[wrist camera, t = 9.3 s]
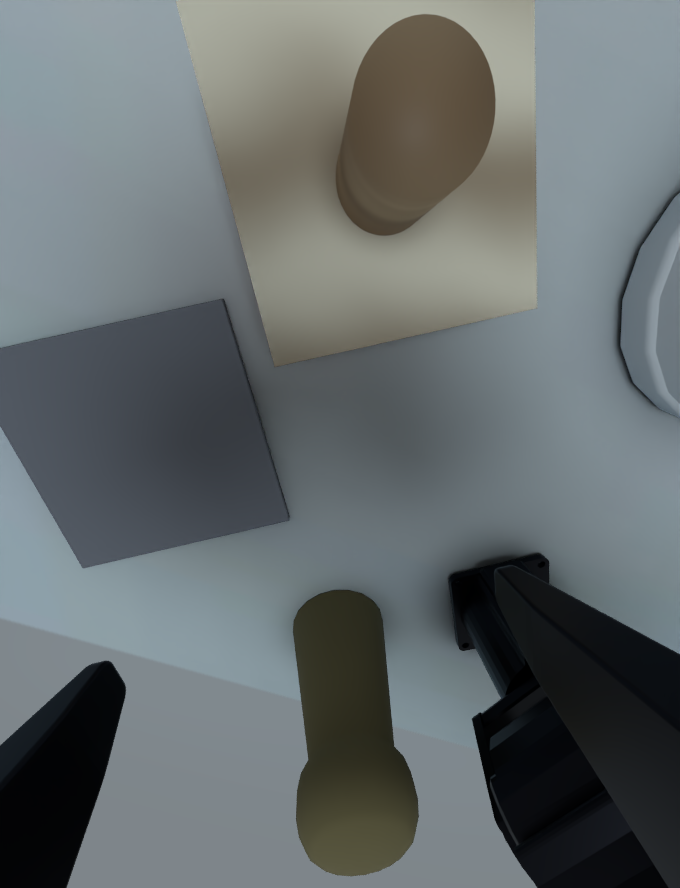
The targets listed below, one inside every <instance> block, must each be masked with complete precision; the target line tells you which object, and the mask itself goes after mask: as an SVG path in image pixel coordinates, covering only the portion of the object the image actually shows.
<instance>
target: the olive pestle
mask: <svg viewBox="0 0 680 888" xmlns="http://www.w3.org/2000/svg"><path fill="white" fill-rule="evenodd" d="M293 635H294V643H295V651H296V660H297V668H298V676H299V685H300V693H301V701H302V710H303V718H304V726H305V735H306V743H307V751H308V762H307V763H306V765H305V767H304V769H303V771H302V772H301V776H300V780H299V785H298V790H297V808H296V822H297V828H298V834H299V838H300V840H301V843H302V845H303V847H304V849H305V851H306V853H307V855H308V857H309V859H310V861H312V862H313V863H314V864H316V865H317V866H318V867H320V868H321V869H323V870H324V871H326V872H329V873H332V874H335V875H342V876H357V875H366V874H369V873H373V872H377V871H380V870H382V869H384V868H386V867H389V866H391V865H392V864H394V863H395V862H396V861H398V860H399V859H400V858H401V857H402V856H403V855H404V854H405V852H406V851H407V850H408V849H409V847H410V846H411V845H412V843H413V840H414V836H415V832H416V827H417V822H418V817H419V815H418V798H417V794H416V790H415V786H414V782H413V778H412V775H411V771H410V769H409V767H408V765H407V763H406V761H405V758H404V757H403V755H402V754H400V752H399V751H398V750H397V749H396V748H395V747H394V740H393V729H392V718H391V707H390V696H389V685H388V674H387V664H386V653H385V642H384V631H383V620H382V616H381V612H380V609H379V608H378V607H377V605H376V604H375V603H374V601H373V600H371V599H370V598H368V597H367V596H365V595H363V594H361V593H358V592H354V591H350V590H333V591H330V592H326V593H322V594H319V595H317V596H316V597H314V598H312V599H310V600H309V601H307V602H306V603H305V604H304V605H303V606H302V607H301V608H300V609H299V611H298V613H297V615H296V617H295V619H294V624H293Z"/></svg>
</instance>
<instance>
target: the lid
mask: <svg viewBox="0 0 680 888" xmlns="http://www.w3.org/2000/svg"><path fill="white" fill-rule="evenodd" d="M176 4H177V7H178V11H179V15H180V18H181V22H182V26H183V29H184V33H185V37H186V41H187V44H188V48H189V52H190V55H191V59H192V63H193V66H194V70H195V74H196V78H197V81H198V85H199V89H200V92H201V96H202V100H203V103H204V107H205V111H206V115H207V118H208V122H209V126H210V129H211V133H212V137H213V140H214V144H215V148H216V152H217V155H218V159H219V163H220V166H221V170H222V174H223V177H224V181H225V185H226V189H227V192H228V196H229V200H230V203H231V207H232V211H233V214H234V218H235V222H236V226H237V229H238V233H239V237H240V240H241V244H242V248H243V251H244V255H245V259H246V262H247V266H248V270H249V274H250V277H251V281H252V285H253V288H254V292H255V296H256V299H257V303H258V307H259V311H260V314H261V318H262V322H263V325H264V329H265V333H266V336H267V340H268V344H269V348H270V351H271V355H272V359H273V362H274V366H275V367H278V366H282V365H287V364H291V363H296V362H300V361H305V360H309V359H313V358H318V357H322V356H327V355H331V354H336V353H340V352H345V351H349V350H354V349H358V348H363V347H367V346H371V345H376V344H380V343H385V342H389V341H394V340H398V339H403V338H407V337H412V336H416V335H420V334H425V333H429V332H434V331H438V330H443V329H447V328H452V327H456V326H461V325H465V324H470V323H474V322H478V321H483V320H487V319H492V318H496V317H501V316H505V315H510V314H514V313H519V312H523V311H527V310H532V309H536V308H537V223H536V106H535V0H178V1H176Z"/></svg>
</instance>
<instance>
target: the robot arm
mask: <svg viewBox="0 0 680 888" xmlns="http://www.w3.org/2000/svg"><path fill="white" fill-rule="evenodd" d="M539 562H540V563H539ZM457 581H459V582H457ZM456 582H457V583H456ZM449 588H450V596H451V604H452V611H453V619H454V627H455V635H456V642H457V645H458V647H459V649H460V650H462V651H466V650H470V649H475V648H476V650H477V652H478V654H479V656H480V658H481V660H482V662H483V664H484V666H485V668H486V670H487V672H488V674H489V676H490V678H491V680H492V681H493V683H494V685H495V687H496V689H497V691H498V693H499V695H500V697H501V699H500V700H499V701H498V702H497V703H495V704H494V705H493V706H491V707H490V708H489V709H487V710H486V711H485V712H483V713H478V714H477V715H476V716H474V717H473V718H472V721H473V726H474V730H475V735H476V740H477V744H478V748H479V753H480V757H481V761H482V766H483V770H484V774H485V779H486V784H487V788H488V793H489V797H490V801H491V805H492V810H493V814H494V818H495V821H496V823H497V825H498V827H499V829H500V830H501V831H502V833H503V835H504V838H505V840H506V841H507V843H508V844H509V846H510V848H511V850H512V852H513V853H514V855H515V857H516V858H517V860H518V861H519V863H520V864H521V866H522V868H523V869H524V870H525V871H526V872H527V874H528V875H529V877H530V878H531V879H532V880H533V882H534V883H535V885H536V886H537V888H680V654H678V653H677V652H675V651H673V650H671V649H669V648H667V647H665V646H663V645H662V644H660V643H658V642H656V641H654V640H652V639H650V638H649V637H647V636H645V635H643V634H641V633H639V632H637V631H635V630H634V629H632V628H630V627H628V626H626V625H624V624H622V623H621V622H619V621H617V620H615V619H613V618H611V617H609V616H608V615H606V614H604V613H602V612H600V611H598V610H596V609H594V608H593V607H591V606H589V605H587V604H585V603H583V602H581V601H580V600H578V599H576V598H574V597H572V596H570V595H568V594H567V593H565V592H563V591H561V590H559V589H557V588H555V587H553V586H552V585H550V584H549V561H548V560H547V559H546V558H545V557H544V556H543V555H541V554H537V555H533V556H529V557H525V558H520V559H516V560H512V561H508V562H503V563H499V564H495V565H491V566H486V567H482V568H478V569H474V570H469V571H465V572H461V573H457V574H454V575H452V576H451V577H450V578H449ZM125 694H126V687H125V683H124V681H123V680H122V678H121V677H120V675H119V673H118V672H117V670H116V668H115V667H114V665H113V664H112V663H111V662H110V661H102V662H98V663H94V664H91V665H89V666H87V667H86V668H85V669H84V670H82V671H81V672H80V673H79V674H78V675H77V676H76V677H75V678H74V679H73V680H72V681H71V682H69V683H68V684H67V685H66V686H65V687H64V688H63V689H62V690H60V691H59V692H58V693H57V694H56V695H55V696H54V697H53V698H52V699H51V700H50V701H48V702H47V703H46V704H45V705H44V706H43V707H42V708H41V709H40V710H39V711H37V712H36V713H35V714H34V715H33V716H32V717H31V718H30V719H29V720H28V721H26V722H25V723H24V724H23V725H22V726H21V727H20V728H19V729H18V730H17V731H16V732H15V733H13V734H12V735H11V736H10V737H9V738H8V739H7V740H6V741H5V742H3V744H1V745H0V888H67V885H68V882H69V879H70V876H71V873H72V870H73V867H74V864H75V861H76V858H77V855H78V853H79V850H80V847H81V844H82V841H83V838H84V835H85V832H86V829H87V826H88V824H89V821H90V818H91V815H92V812H93V809H94V806H95V803H96V800H97V797H98V794H99V791H100V788H101V785H102V782H103V779H104V776H105V772H106V769H107V765H108V761H109V757H110V754H111V750H112V746H113V742H114V738H115V734H116V730H117V726H118V723H119V719H120V714H121V711H122V707H123V703H124V699H125Z"/></svg>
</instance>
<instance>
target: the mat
mask: <svg viewBox="0 0 680 888" xmlns="http://www.w3.org/2000/svg"><path fill="white" fill-rule="evenodd" d="M0 426H1V428H2V430H3V431H4V433H5V435H6V437H7V438H8V440H9V442H10V444H11V445H12V447H13V449H14V450H15V452H16V454H17V456H18V457H19V459H20V461H21V463H22V464H23V466H24V468H25V469H26V471H27V473H28V475H29V476H30V478H31V480H32V482H33V483H34V485H35V487H36V488H37V490H38V492H39V494H40V495H41V497H42V499H43V500H44V502H45V504H46V506H47V507H48V509H49V511H50V513H51V514H52V516H53V518H54V519H55V521H56V523H57V525H58V526H59V528H60V530H61V532H62V533H63V535H64V537H65V538H66V540H67V542H68V544H69V545H70V547H71V549H72V551H73V552H74V554H75V556H76V557H77V559H78V561H79V563H80V564H81V566H82V568H86V567H91V566H95V565H99V564H104V563H108V562H112V561H117V560H121V559H125V558H130V557H134V556H138V555H143V554H147V553H151V552H155V551H160V550H164V549H168V548H173V547H177V546H181V545H186V544H190V543H194V542H199V541H203V540H207V539H211V538H216V537H220V536H224V535H229V534H233V533H237V532H242V531H246V530H250V529H255V528H259V527H263V526H268V525H272V524H276V523H280V522H285V521H289V513H288V510H287V507H286V503H285V500H284V497H283V494H282V490H281V487H280V484H279V480H278V477H277V474H276V470H275V467H274V464H273V460H272V457H271V454H270V451H269V447H268V444H267V441H266V437H265V434H264V431H263V427H262V424H261V421H260V418H259V414H258V411H257V408H256V404H255V401H254V398H253V394H252V391H251V388H250V384H249V381H248V378H247V375H246V371H245V368H244V365H243V361H242V358H241V355H240V351H239V348H238V345H237V342H236V338H235V335H234V332H233V328H232V325H231V322H230V318H229V315H228V312H227V308H226V305H225V302H224V299H219V300H215V301H210V302H206V303H201V304H197V305H192V306H188V307H183V308H179V309H174V310H170V311H166V312H161V313H157V314H152V315H148V316H143V317H139V318H134V319H130V320H125V321H121V322H116V323H112V324H107V325H103V326H98V327H94V328H89V329H85V330H80V331H76V332H71V333H67V334H62V335H58V336H53V337H49V338H44V339H40V340H36V341H31V342H27V343H22V344H18V345H13V346H9V347H4V348H0Z"/></svg>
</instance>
